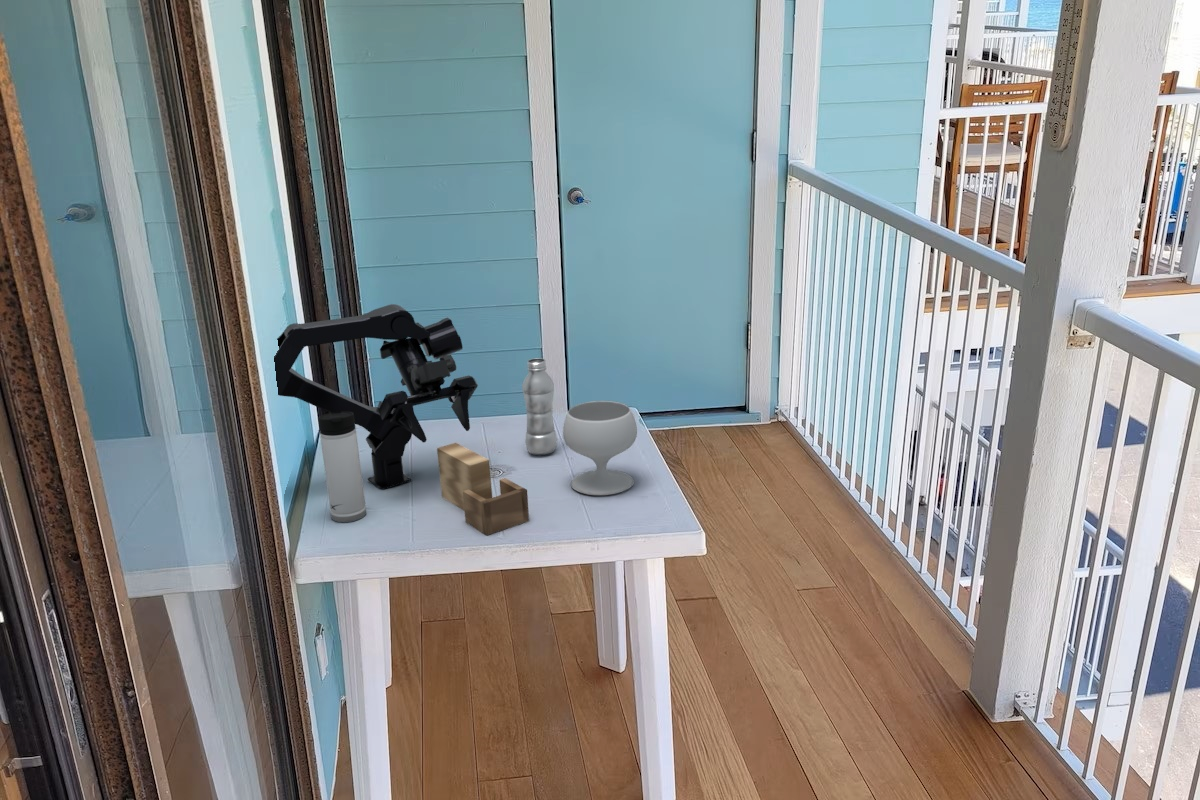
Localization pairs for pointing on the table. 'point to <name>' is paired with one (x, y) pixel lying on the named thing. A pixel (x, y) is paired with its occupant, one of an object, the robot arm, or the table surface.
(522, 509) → the end cap
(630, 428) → the chalice
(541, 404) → the plastic bottle
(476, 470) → the tan wooden block
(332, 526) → the table surface
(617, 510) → the table surface
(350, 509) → the travel mug
